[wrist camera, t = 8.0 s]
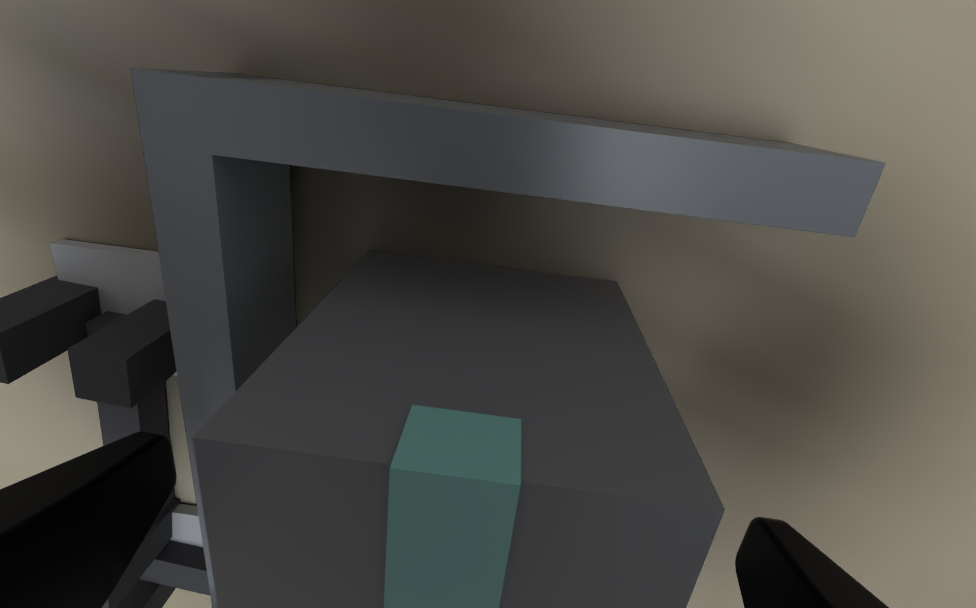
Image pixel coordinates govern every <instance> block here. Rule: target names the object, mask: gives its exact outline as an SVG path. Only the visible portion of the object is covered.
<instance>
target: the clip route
mask: <svg viewBox="0 0 976 608" xmlns="http://www.w3.org/2000/svg"><path fill="white" fill-rule="evenodd" d="M50 248H51V252H52V256H53V260H54V264H55V268H56V273H57V276H54V277H52V278H49V279H47V280H44V281H42V282H39V283H37V284H34V285H32V286H29V287H27V288H25V289H22V290H20V291H17V292H15V293H12V294H10V295H7V296H5V297H2V298H0V382H1V383H6V384H9V383H11V382H13V381H14V380H16V379H18V378H20V377H21V376H23V375H25V374H27V373H28V372H30V371H32V370H34V369H35V368H37V367H39V366H41V365H42V364H44V363H46V362H48V361H49V360H51V359H53V358H55V357H56V356H58V355H60V354H62V353H63V352H65V351H67V350H68V354H69V360H70V366H71V372H72V378H73V384H74V390H75V396H76V397H77V398H82V399H87V400H92V401H97V405H98V411H99V418H100V425H101V432H102V438H103V445H104V446H105V445H107V444H110V443H112V442H114V441H117V440H119V439H121V438H124V437H126V436H129V435H131V434H133V433H136V432H144V431H145V432H152V433H159V434H164V435H166V436H168V438H169V430H168V418H167V406H166V394H165V381H166V380H167V379H168V378H169V377H171V376H177V371H176V365H175V358H174V351H173V345H172V338H171V332H170V325H169V318H168V312H167V305H166V299H165V292H164V285H163V279H162V272H161V266H160V259H159V252H156V251H149V250H141V249H134V248H126V247H119V246H111V245H104V244H96V243H88V242H81V241H73V240H66V239H60V240H57V241H54V242H51V243H50ZM175 588H180V589H184V590H188V591H193V592H197V593H202V594H206V595H210V589H209V582H208V576H207V569H206V562H205V556H204V549H203V543H202V536H201V529H200V523H199V516H198V510H197V506H193V505H186V504H179V500H177V499H174V491H172V493H171V495H170V497H169V499H168V500H167V502H166V504H165V505H164V507H163V509H162V511H161V512H160V514H159V516H158V517H157V519H156V521H155V522H154V524H153V526H152V528H151V529H150V531H149V533H148V534H147V536H146V538H145V540H144V541H143V543H142V545H141V546H140V548H139V550H138V551H137V553H136V555H135V557H134V558H133V560H132V562H131V563H130V565H129V567H128V568H127V570H126V572H125V573H124V575H123V577H122V578H121V580H120V581H119V583H118V585H117V586H116V588H115V589H114V591H113V592H112V594H111V595H110V597H109V598H108V599H107V601H106V602H105V604H104V605H103V607H102V608H162V607H163V605H164V604H165V603H166V601H167V600H168V598H169V597H170V595H171V594H172V593H173V591H174V590H175ZM210 596H211V595H210Z"/></svg>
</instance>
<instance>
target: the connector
mask: <svg viewBox="0 0 976 608" xmlns="http://www.w3.org/2000/svg"><path fill="white" fill-rule="evenodd" d="M192 439H193V446H194V452H195V459H196V466H197V472H198V479H199V486H200V492H201V499H202V506H203V512H204V519H205V526H206V533H207V539H208V546H209V553H210V559H211V566H212V573H213V579H214V586H215V593H216V599H217V606H218V608H686V606H687V604H688V601H689V599H690V596H691V594H692V591H693V589H694V586H695V583H696V581H697V578H698V576H699V573H700V571H701V568H702V566H703V563H704V561H705V558H706V556H707V553H708V551H709V548H710V545H711V543H712V540H713V538H714V535H715V533H716V530H717V528H718V525H719V523H720V520H721V518H722V515H723V513H724V510H725V509H724V507H723V505H722V503H721V501H720V499H719V496H718V494H717V492H716V490H715V488H714V486H713V484H712V482H711V479H710V477H709V475H708V473H707V471H706V469H705V467H704V465H703V463H702V460H701V458H700V456H699V454H698V452H697V450H696V448H695V446H694V443H693V441H692V439H691V437H690V435H689V433H688V431H687V429H686V427H685V424H684V422H683V420H682V418H681V416H680V414H679V412H678V410H677V407H676V405H675V403H674V401H673V399H672V397H671V395H670V393H669V391H668V388H667V386H666V384H665V382H664V380H663V378H662V376H661V374H660V371H659V369H658V367H657V365H656V363H655V361H654V359H653V357H652V355H651V352H650V350H649V348H648V346H647V344H646V342H645V340H644V338H643V335H642V333H641V331H640V329H639V327H638V325H637V323H636V321H635V319H634V316H633V314H632V312H631V310H630V308H629V306H628V304H627V302H626V299H625V297H624V295H623V293H622V291H621V289H620V287H619V285H618V283H617V282H614V281H606V280H598V279H591V278H583V277H575V276H567V275H560V274H552V273H544V272H536V271H529V270H521V269H513V268H505V267H497V266H490V265H482V264H474V263H466V262H459V261H451V260H443V259H435V258H428V257H420V256H412V255H404V254H397V253H389V252H381V251H373V250H370V251H369V252H368V253H367V254H366V255H365V256H364V257H363V258H362V259H361V260H360V261H359V262H358V263H357V264H356V266H355V267H354V268H353V269H352V270H351V271H350V272H349V273H348V274H347V275H346V276H345V277H344V278H343V279H342V280H341V281H340V282H339V283H338V284H337V286H336V287H335V288H334V289H333V290H332V291H331V292H330V293H329V294H328V295H327V296H326V297H325V298H324V299H323V300H322V301H321V302H320V303H319V304H318V306H317V307H316V308H315V309H314V310H313V311H312V312H311V313H310V314H309V315H308V316H307V317H306V318H305V319H304V320H303V321H302V322H301V323H300V324H299V326H298V327H297V328H296V329H295V330H294V331H293V332H292V333H291V334H290V335H289V336H288V337H287V338H286V339H285V340H284V341H283V342H282V343H281V344H280V346H279V347H278V348H277V349H276V350H275V351H274V352H273V353H272V354H271V355H270V356H269V357H268V358H267V359H266V360H265V361H264V362H263V363H262V364H261V366H260V367H259V368H258V369H257V370H256V371H255V372H254V373H253V374H252V375H251V376H250V377H249V378H248V379H247V380H246V381H245V382H244V383H243V384H242V386H241V387H240V388H239V389H238V390H237V391H236V392H235V393H234V394H233V395H232V396H231V397H230V398H229V399H228V400H227V401H226V402H225V403H224V404H223V406H222V407H221V408H220V409H219V410H218V411H217V412H216V413H215V414H214V415H213V416H212V417H211V418H210V419H209V420H208V421H207V422H206V423H205V424H204V426H203V427H202V428H201V429H200V430H199V431H198V432H197V433H196V434H195V435H194V436H193V437H192Z"/></svg>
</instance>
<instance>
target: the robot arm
mask: <svg viewBox="0 0 976 608" xmlns="http://www.w3.org/2000/svg"><path fill="white" fill-rule="evenodd" d="M175 483H176V469H175V463H174V458H173V452H172V446H171V441H170V439H169V438H168V436H166V435H164V434H159V433H152V432H145V431H144V432H136V433H133V434H131V435H129V436H126V437H124V438H121V439H119V440H117V441H114V442H112V443H110V444H107V445H105V446H102V447H100V448H98V449H95V450H93V451H91V452H88V453H86V454H83V455H81V456H79V457H76V458H74V459H72V460H69V461H67V462H64V463H62V464H60V465H57V466H55V467H53V468H50V469H48V470H45V471H43V472H41V473H38V474H36V475H34V476H31V477H29V478H26V479H24V480H22V481H19V482H17V483H15V484H12V485H10V486H7V487H5V488H3V489H0V608H102V607H103V605H104V604H105V602H106V601H107V599H108V598H109V597H110V595H111V594H112V592H113V591H114V589H115V588H116V586H117V585H118V583H119V581H120V580H121V578H122V577H123V575H124V573H125V572H126V570H127V568H128V567H129V565H130V563H131V562H132V560H133V558H134V557H135V555H136V553H137V551H138V550H139V548H140V546H141V545H142V543H143V541H144V540H145V538H146V536H147V534H148V533H149V531H150V529H151V528H152V526H153V524H154V522H155V521H156V519H157V517H158V516H159V514H160V512H161V511H162V509H163V507H164V505H165V504H166V502H167V500H168V499H169V497H170V495H171V493H172V491H173V489H174V487H175ZM735 566H736V573H737V578H738V582H739V586H740V590H741V595H742V599H743V603H744V607H745V608H889V607H888V606H886V605H885V604H884V603H883V602H882V601H880V600H879V599H878V598H877V597H876V596H874V595H873V594H872V593H871V592H869V591H868V590H867V589H866V588H865V587H863V586H862V585H861V584H860V583H859V582H857V581H856V580H855V579H854V578H853V577H851V576H850V575H849V574H848V573H847V572H845V571H844V570H843V569H842V568H841V567H839V566H838V565H837V564H836V563H835V562H833V561H832V560H831V559H830V558H829V557H827V556H826V555H825V554H824V553H823V552H821V551H820V550H819V549H818V548H817V547H815V546H814V545H813V544H812V543H810V542H809V541H808V540H807V539H806V538H804V537H803V536H802V535H801V534H800V533H798V532H797V531H796V530H795V529H794V528H792V527H791V526H790V525H789V524H787V523H786V522H784V521H782V520H778V519H771V518H763V517H756V518H754V519H753V520H752V521H751V522H750V524H749V526H748V529H747V531H746V533H745V536H744V538H743V540H742V543H741V545H740V547H739V550H738V552H737V555H736V561H735Z"/></svg>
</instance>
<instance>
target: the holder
mask: <svg viewBox="0 0 976 608" xmlns="http://www.w3.org/2000/svg"><path fill="white" fill-rule="evenodd" d="M131 74H132V81H133V88H134V94H135V101H136V107H137V114H138V121H139V127H140V134H141V140H142V147H143V154H144V160H145V167H146V173H147V180H148V186H149V193H150V200H151V206H152V213H153V219H154V226H155V233H156V239H157V246H158V252H159V259H160V266H161V272H162V279H163V285H164V292H165V299H166V305H167V312H168V318H169V325H170V332H171V338H172V345H173V351H174V358H175V365H176V371H177V378H178V384H179V391H180V398H181V404H182V411H183V417H184V424H185V431H186V437H187V444H188V450H189V457H190V463H191V470H192V477H193V483H194V490H195V496H196V503H197V510H198V516H199V523H200V529H201V536H202V543H203V549H204V556H205V562H206V569H207V576H208V582H209V589H210V595H211V602H212V608H218V606H217V599H216V593H215V586H214V579H213V573H212V566H211V559H210V553H209V546H208V539H207V533H206V526H205V519H204V512H203V506H202V499H201V492H200V486H199V479H198V472H197V466H196V459H195V452H194V446H193V439H192V437H193V436H194V435H195V434H196V433H197V432H198V431H199V430H200V429H201V428H202V427H203V426H204V424H205V423H206V422H207V421H208V420H209V419H210V418H211V417H212V416H213V415H214V414H215V413H216V412H217V411H218V410H219V409H220V408H221V407H222V406H223V404H224V403H225V402H226V401H227V400H228V399H229V398H230V397H231V396H232V395H233V394H234V393H235V392H236V391H237V390H238V389H239V388H240V387H241V386H242V384H243V383H244V382H245V381H246V380H247V379H248V378H249V377H250V376H251V375H252V374H253V373H254V372H255V371H256V370H257V369H258V368H259V367H260V366H261V364H262V363H263V362H264V361H265V360H266V359H267V358H268V357H269V356H270V355H271V354H272V353H273V352H274V351H275V350H276V349H277V348H278V347H279V346H280V344H281V343H282V342H283V341H284V340H285V339H286V338H287V337H288V336H289V335H290V334H291V333H292V332H293V331H294V330H295V329H296V313H295V289H294V264H293V240H292V216H291V192H290V167H289V165H295V166H303V167H311V168H318V169H326V170H334V171H342V172H350V173H357V174H365V175H373V176H381V177H389V178H396V179H404V180H412V181H420V182H428V183H435V184H443V185H451V186H459V187H466V188H474V189H482V190H490V191H498V192H505V193H513V194H521V195H529V196H537V197H544V198H552V199H560V200H568V201H576V202H583V203H591V204H599V205H607V206H615V207H622V208H630V209H638V210H646V211H653V212H661V213H669V214H677V215H685V216H692V217H700V218H708V219H716V220H724V221H731V222H739V223H747V224H755V225H763V226H770V227H778V228H786V229H794V230H802V231H809V232H817V233H825V234H833V235H840V236H848V237H855V235H856V233H857V230H858V228H859V226H860V223H861V221H862V218H863V216H864V214H865V211H866V209H867V206H868V204H869V202H870V199H871V197H872V194H873V192H874V190H875V187H876V185H877V182H878V180H879V178H880V175H881V173H882V170H883V168H884V165H885V163H883V162H878V161H874V160H869V159H864V158H859V157H855V156H850V155H845V154H840V153H836V152H831V151H826V150H821V149H817V148H812V147H807V146H802V145H798V144H793V143H785V142H777V141H769V140H761V139H753V138H745V137H737V136H729V135H721V134H713V133H705V132H697V131H689V130H681V129H673V128H665V127H657V126H649V125H641V124H633V123H625V122H617V121H609V120H601V119H593V118H585V117H577V116H569V115H561V114H553V113H545V112H537V111H529V110H521V109H513V108H505V107H497V106H489V105H481V104H473V103H465V102H457V101H449V100H441V99H433V98H425V97H417V96H409V95H401V94H393V93H385V92H378V91H370V90H362V89H354V88H346V87H338V86H330V85H322V84H314V83H306V82H298V81H290V80H282V79H274V78H266V77H258V76H250V75H242V74H234V73H218V72H197V71H177V70H156V69H136V68H131Z"/></svg>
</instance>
